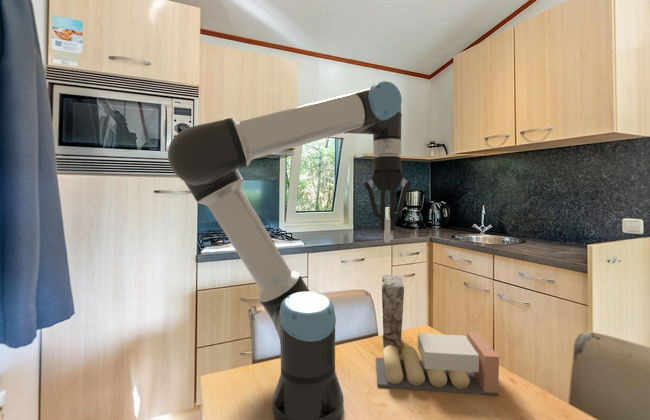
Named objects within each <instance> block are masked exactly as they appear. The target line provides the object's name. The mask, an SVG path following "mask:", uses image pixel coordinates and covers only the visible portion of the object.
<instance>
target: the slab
mask: <svg viewBox="0 0 650 420" xmlns="http://www.w3.org/2000/svg"><path fill="white" fill-rule="evenodd" d="M417 350H418V352H419V356H420V359H421V360H422V362H423V365H424V368H425V369H436V370H451V371H466V372H479V355H478V353H477V352H476V350H475V349H474V348H473V346H472V345H471V343H470V342H469V341H468V339H467V336H466V335H460V334H459V335H458V334H442V333H440V334H439V333H438V334H436V333H424V332H423V333H421V332H418V333H417Z"/></svg>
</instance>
